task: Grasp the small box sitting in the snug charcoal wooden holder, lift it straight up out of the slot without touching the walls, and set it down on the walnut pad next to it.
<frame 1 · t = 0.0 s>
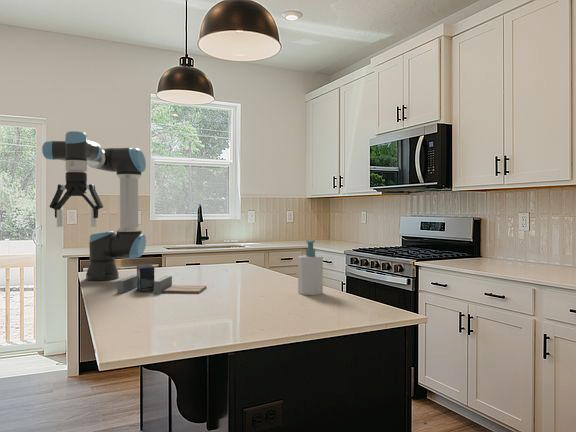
hand: (76, 226, 180), 28 cm above the countertop, fingers open, 13 cm apart
walnut pad: (185, 290, 198), on the countertop
small box: (145, 290, 200), on the countertop
soap bottle: (310, 293, 193), on the countertop
holder: (145, 289, 200), on the countertop
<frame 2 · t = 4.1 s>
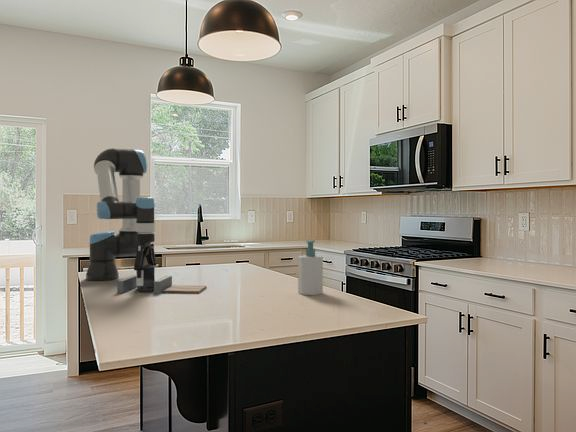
hand: (145, 283, 199), 3 cm above the countertop, fingers closed on small box, 12 cm apart
small box: (145, 290, 200), on the countertop, touching gripper
everything else where it was.
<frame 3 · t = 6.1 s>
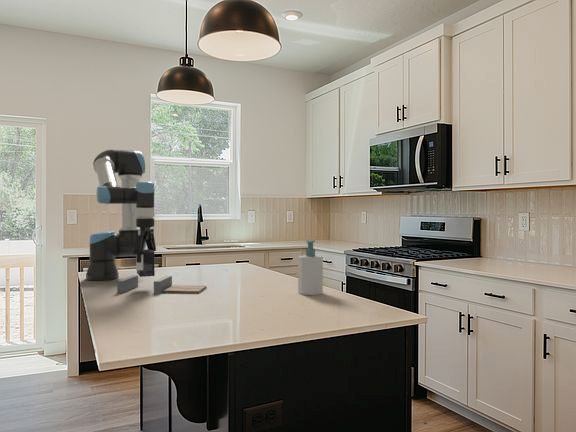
hand: (145, 268, 200), 9 cm above the countertop, fingers closed on small box, 12 cm apart
small box: (145, 275, 200), point 6 cm above the countertop, touching gripper
everything else where it was.
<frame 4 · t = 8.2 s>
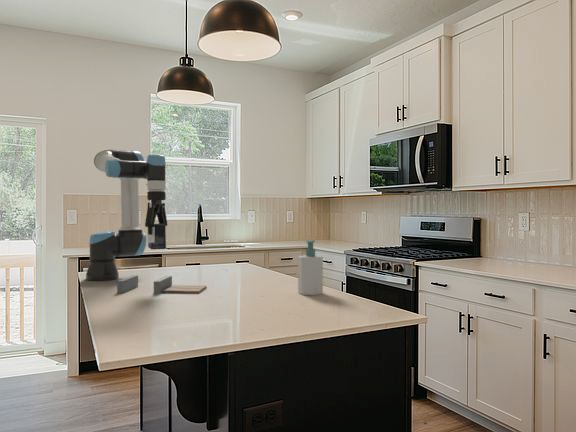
hand: (156, 241, 198), 21 cm above the countertop, fingers closed on small box, 12 cm apart
small box: (156, 248, 198), point 18 cm above the countertop, touching gripper
everything else where it was.
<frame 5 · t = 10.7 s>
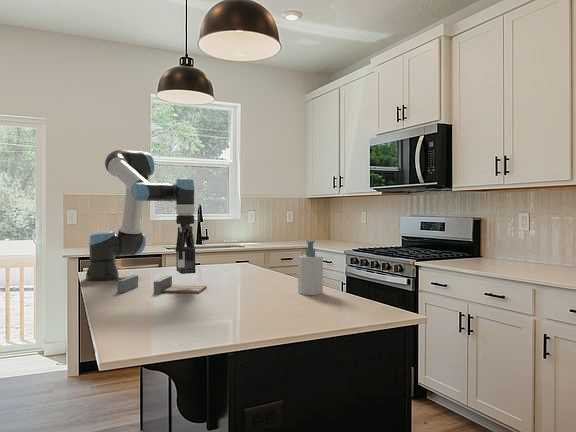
hand: (185, 265, 198), 11 cm above the countertop, fingers closed on small box, 12 cm apart
small box: (185, 272, 198), point 8 cm above the countertop, touching gripper
everything else where it was.
when the fingers open (6 cm above the countertop, at t = 12.7 s): small box drops 2 cm, resting on walnut pad.
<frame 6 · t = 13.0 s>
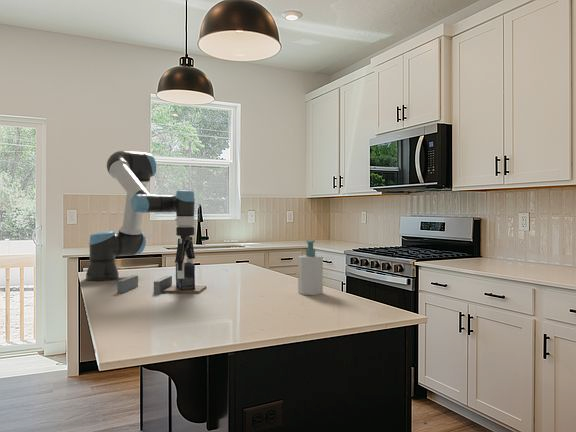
hand: (185, 276, 198), 6 cm above the countertop, fingers open, 13 cm apart
small box: (185, 288, 198), point 1 cm above the countertop, touching walnut pad
everything else where it was.
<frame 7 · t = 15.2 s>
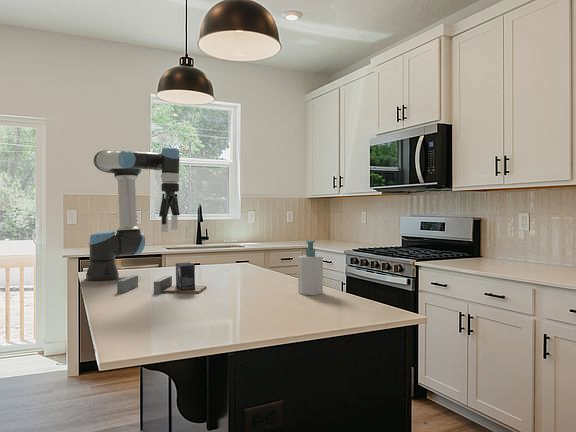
hand: (169, 230, 206), 25 cm above the countertop, fingers open, 13 cm apart
nothing on the countertop moved.
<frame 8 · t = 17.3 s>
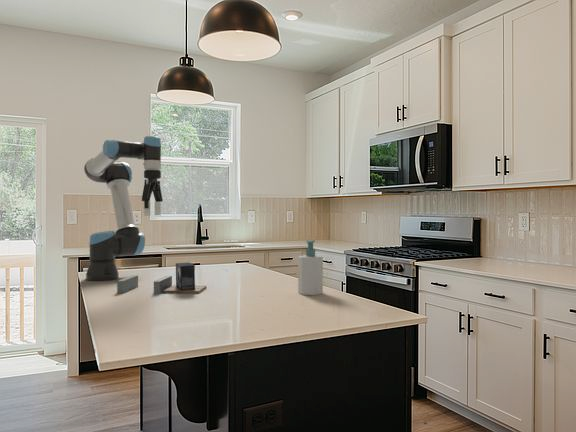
hand: (152, 215, 216), 32 cm above the countertop, fingers open, 13 cm apart
nothing on the countertop moved.
at the end: small box inside the target area on the walnut pad (0.2 cm from its centre), point 0.8 cm above the walnut pad's base; small box tilted 0°; the gripper is holding nothing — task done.
